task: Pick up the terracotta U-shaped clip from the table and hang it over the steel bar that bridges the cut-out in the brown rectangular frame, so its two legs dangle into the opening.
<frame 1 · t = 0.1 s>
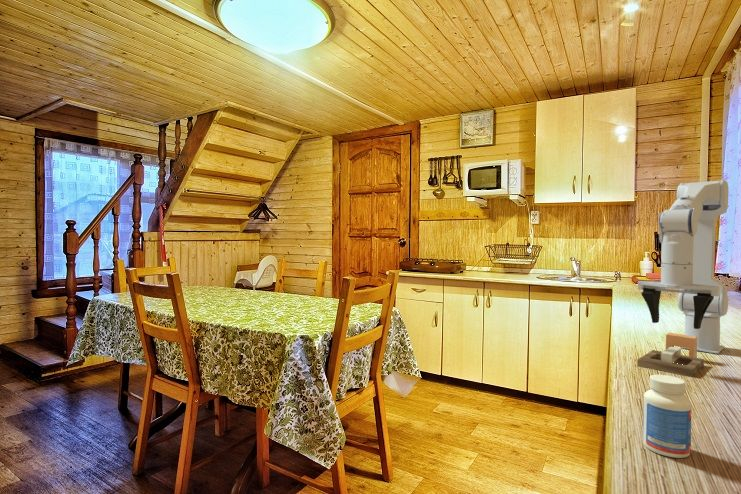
hand: (675, 325, 92), 10 cm above the countertop, tool pointing down, fingers open, 7 cm apart
pill bottle: (666, 450, 57), on the countertop
clip: (681, 357, 101), on the countertop
brown rectangular frame: (670, 365, 95), on the countertop
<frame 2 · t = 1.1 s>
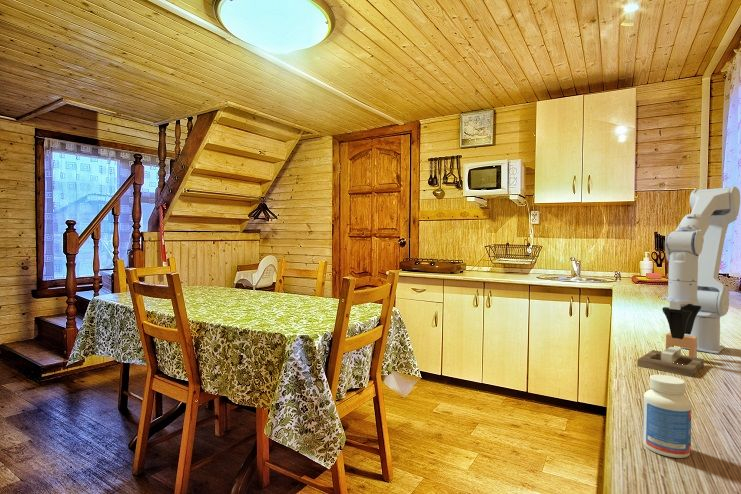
hand: (681, 335, 101), 5 cm above the countertop, tool pointing down, fingers open, 7 cm apart
nothing on the countertop moved.
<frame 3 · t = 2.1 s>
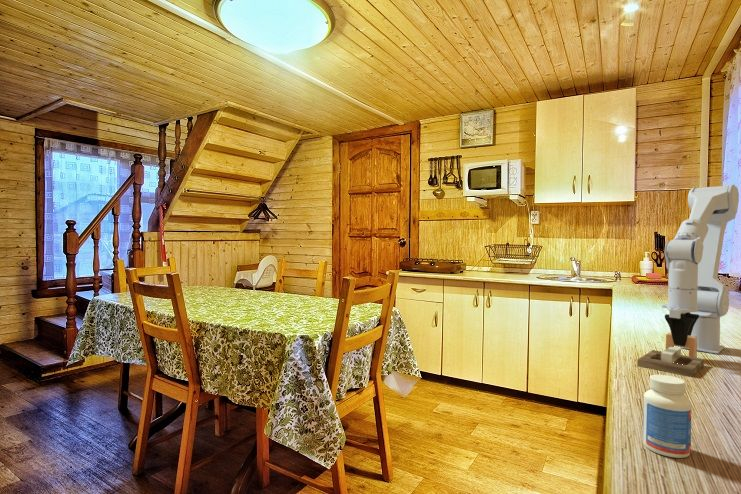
hand: (681, 343, 101), 3 cm above the countertop, tool pointing down, fingers closed on clip, 3 cm apart
clip: (681, 357, 101), on the countertop, touching gripper
everything else where it was.
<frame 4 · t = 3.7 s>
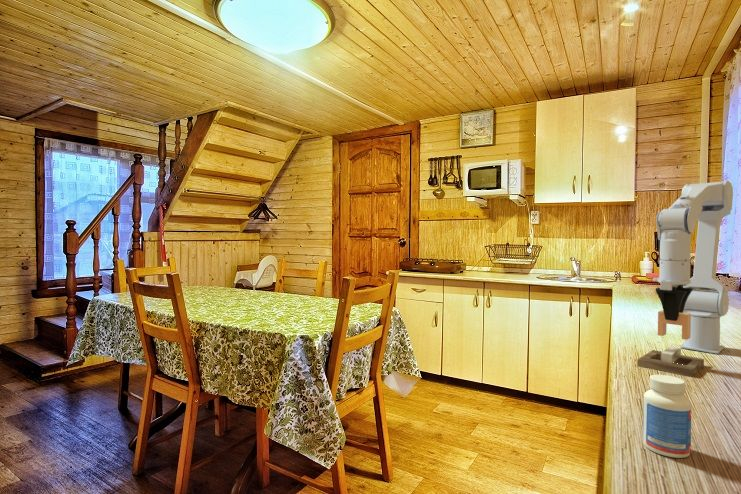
hand: (673, 319, 96), 11 cm above the countertop, tool pointing down, fingers closed on clip, 3 cm apart
clip: (673, 336, 96), point 7 cm above the countertop, touching gripper
everything else where it was.
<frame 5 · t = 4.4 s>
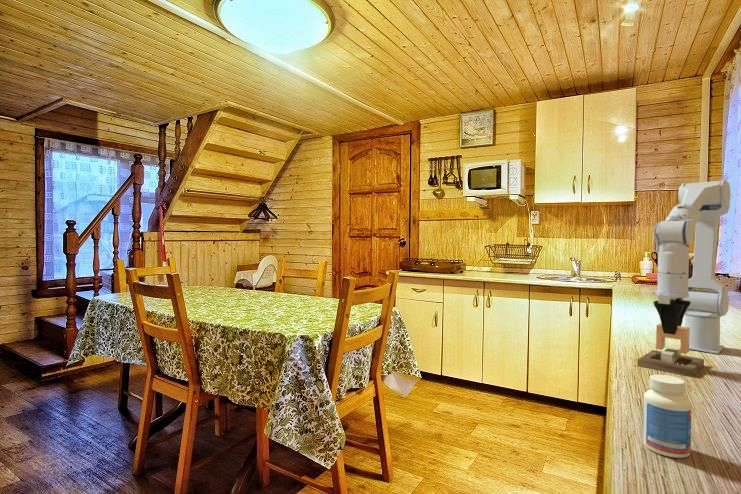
hand: (671, 332, 95), 8 cm above the countertop, tool pointing down, fingers closed on clip, 3 cm apart
clip: (672, 350, 95), point 4 cm above the countertop, touching gripper
everything else where it was.
when the fingers open (5 cm above the countertop, at t = 5.2 s): clip stays where it is, resting on brown rectangular frame.
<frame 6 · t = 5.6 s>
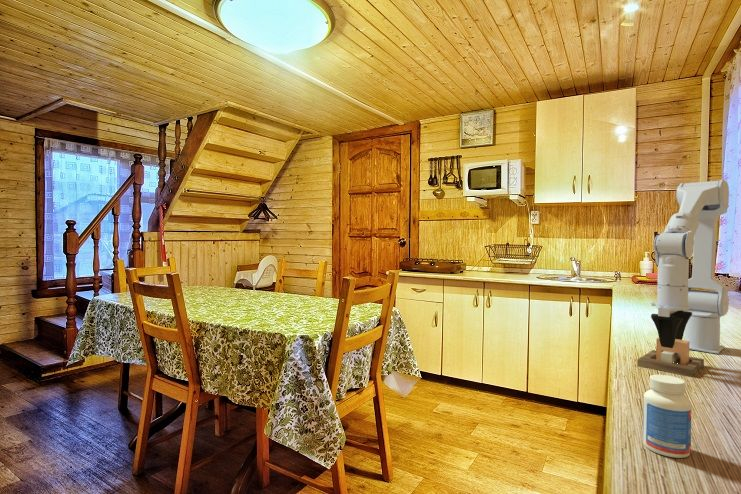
hand: (671, 344, 95), 5 cm above the countertop, tool pointing down, fingers open, 7 cm apart
clip: (672, 363, 95), resting on brown rectangular frame
everything else where it was.
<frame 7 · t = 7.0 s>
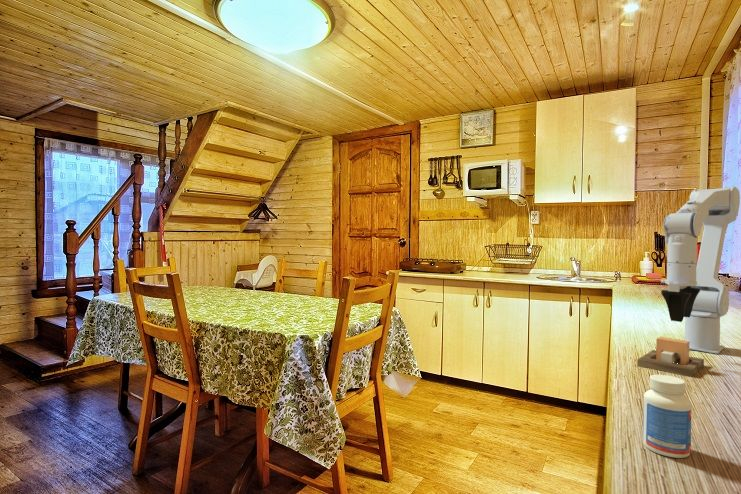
hand: (680, 318, 100), 10 cm above the countertop, tool pointing down, fingers open, 7 cm apart
nothing on the countertop moved.
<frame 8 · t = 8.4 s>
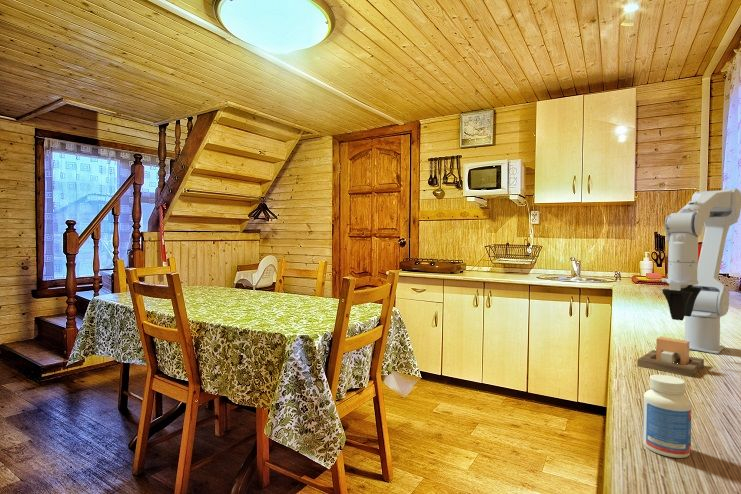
hand: (681, 317, 101), 10 cm above the countertop, tool pointing down, fingers open, 7 cm apart
nothing on the countertop moved.
at the end: clip 0.3 cm off-centre on the brown rectangular frame, point 0.5 cm above the brown rectangular frame's base; clip tilted 0°; clip touching brown rectangular frame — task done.
